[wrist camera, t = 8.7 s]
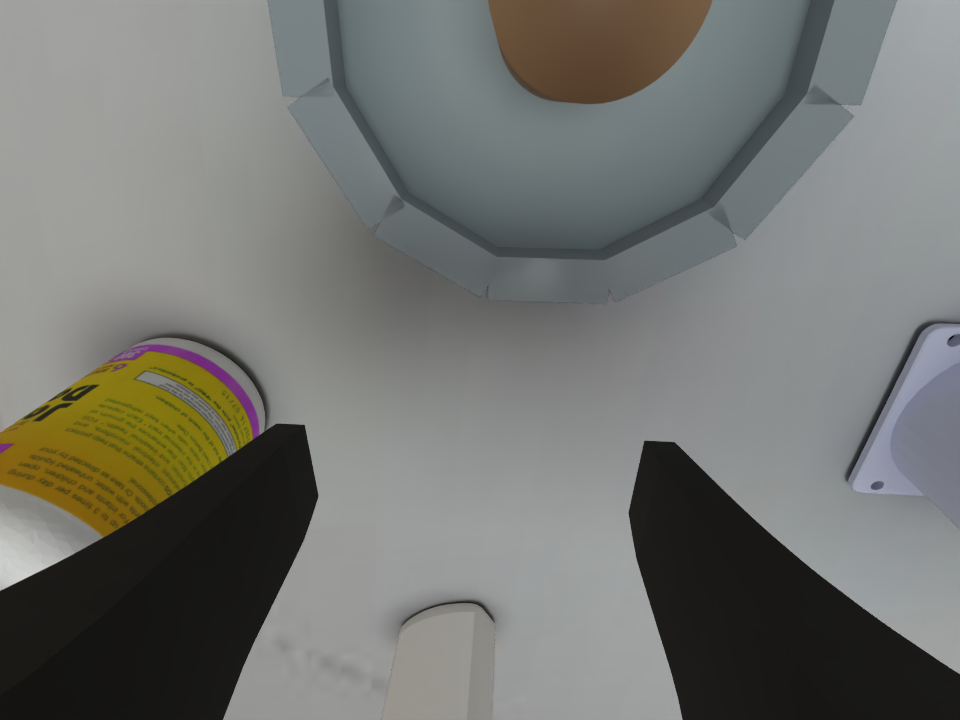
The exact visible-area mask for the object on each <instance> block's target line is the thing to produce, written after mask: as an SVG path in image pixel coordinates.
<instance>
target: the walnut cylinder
mask: <svg viewBox="0 0 960 720" xmlns="http://www.w3.org/2000/svg"><path fill="white" fill-rule="evenodd" d="M712 1H713V0H488V3H489V10H490V14H491V18H492V21H493V25H494V29H495V33H496V37H497V41H498V44H499V48H500V52H501V55H502V57H503V60H504V63H505V64H506V66H507V68H508V70H509V72H510V73H511V74H512V76H513V77H514V79H515V80H516V81H517V82H518V83H519V84H520V85H521V86H522V87H523V88H525V89H526V90H527V91H528V92H530V93H532V94H533V95H535V96H537V97H540V98H542V99H545V100H549V101H556V102H567V103H579V104H602V103H607V102H612V101H617V100H619V99H622V98H625V97H628V96H631V95H633V94H634V93H636V92H638V91H640V90H642V89H644V88H646V87H647V86H649V85H650V84H652V83H653V82H655V81H656V80H657V79H659V78H660V77H661V76H662V75H663V74H665V73H666V72H667V71H668V70H669V69H670V68H671V67H672V66H673V65H674V64H675V63H676V62H677V61H678V60H679V59H680V58H681V56H682V55H683V54H684V52H685V51H686V50H687V48H688V47H689V46H690V44H691V43H692V41H693V40H694V38H695V37H696V35H697V33H698V32H699V30H700V28H701V26H702V24H703V22H704V20H705V18H706V16H707V14H708V12H709V9H710V7H711V4H712Z"/></svg>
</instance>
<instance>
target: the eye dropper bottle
mask: <svg viewBox="0 0 960 720" xmlns="http://www.w3.org/2000/svg"><path fill="white" fill-rule="evenodd" d="M494 661H495V625H494V622H493V621H492V619H491V618H490V617H489V616H488V614H487V613H486V612H485V611H484V610H483V609H482V607H480V606H479V605H477V604H473V603H456V604H447V605H441V606H437V607H434V608H431V609H428V610H425V611H423V612H421V613H419V614H417V615H415V616H414V617H412V618H411V619H409V620H408V621H407V622H406V623H405V624H404V625H403V626H402V628H401V630H400V632H399V636H398V641H397V645H396V650H395V655H394V659H393V664H392V669H391V674H390V678H389V683H388V688H387V693H386V697H385V702H384V707H383V712H382V717H381V720H492V718H493V691H494Z"/></svg>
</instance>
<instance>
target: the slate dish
mask: <svg viewBox="0 0 960 720" xmlns="http://www.w3.org/2000/svg"><path fill="white" fill-rule="evenodd" d="M896 2H897V0H713V1H712V4H711V7H710V9H709V12H708V14H707V16H706V18H705V20H704V22H703V24H702V26H701V28H700V30H699V32H698V33H697V35H696V37H695V38H694V40H693V41H692V43H691V44H690V46H689V47H688V48H687V50H686V51H685V52H684V54H683V55H682V56H681V58H680V59H679V60H678V61H677V62H676V63H675V64H674V65H673V66H672V67H671V68H670V69H669V70H668V71H667V72H666V73H665V74H663V75H662V76H661V77H660V78H659V79H657V80H656V81H655V82H653V83H652V84H650V85H649V86H647V87H646V88H644V89H642V90H640V91H638V92H636V93H634V94H633V95H631V96H628V97H625V98H622V99H619V100H617V101H612V102H607V103H602V104H579V103H567V102H556V101H549V100H545V99H542V98H540V97H537V96H535V95H533V94H532V93H530V92H528V91H527V90H526V89H525V88H523V87H522V86H521V85H520V84H519V83H518V82H517V81H516V80H515V79H514V77H513V76H512V74H511V73H510V72H509V70H508V68H507V66H506V64H505V63H504V60H503V57H502V55H501V52H500V48H499V44H498V41H497V37H496V33H495V29H494V25H493V21H492V18H491V14H490V10H489V3H488V0H268V7H269V13H270V19H271V25H272V32H273V38H274V44H275V51H276V57H277V63H278V69H279V76H280V82H281V88H282V95H283V96H300V98H298V99H297V100H296V101H294V102H293V103H291V104H290V105H289V106H287V108H288V109H289V111H290V112H291V114H292V115H293V117H294V119H295V120H296V122H297V123H298V125H299V126H300V128H301V129H302V131H303V132H304V134H305V135H306V137H307V138H308V140H309V141H310V143H311V145H312V146H313V148H314V149H315V151H316V152H317V154H318V155H319V157H320V158H321V160H322V161H323V163H324V164H325V166H326V167H327V169H328V171H329V172H330V174H331V175H332V177H333V178H334V180H335V181H336V183H337V184H338V186H339V187H340V189H341V190H342V192H343V194H344V195H345V197H346V198H347V200H348V201H349V203H350V204H351V206H352V207H353V209H354V210H355V212H356V213H357V215H358V216H359V218H360V220H361V221H362V223H363V224H364V226H365V227H366V229H369V228H371V227H372V226H374V225H376V224H377V223H379V222H380V224H379V226H378V228H377V230H376V232H375V234H374V236H375V237H376V238H378V239H380V240H382V241H383V242H385V243H387V244H389V245H390V246H392V247H394V248H395V249H397V250H399V251H401V252H402V253H404V254H406V255H407V256H409V257H411V258H413V259H414V260H416V261H418V262H419V263H421V264H423V265H425V266H426V267H428V268H430V269H431V270H433V271H435V272H437V273H438V274H440V275H442V276H443V277H445V278H447V279H449V280H450V281H452V282H454V283H456V284H457V285H459V286H461V287H462V288H464V289H466V290H468V291H469V292H471V293H473V294H474V295H476V296H478V297H481V295H482V294H483V292H484V291H485V289H486V288H487V286H488V300H503V301H532V302H561V303H590V304H607V299H608V293H609V291H610V293H611V295H612V297H613V299H614V301H615V302H617V301H619V300H621V299H624V298H626V297H628V296H630V295H632V294H634V293H637V292H639V291H641V290H643V289H645V288H647V287H650V286H652V285H654V284H656V283H658V282H660V281H663V280H665V279H667V278H669V277H671V276H673V275H676V274H678V273H680V272H682V271H684V270H686V269H689V268H691V267H693V266H695V265H697V264H699V263H702V262H704V261H706V260H708V259H710V258H712V257H715V256H717V255H719V254H721V253H723V252H725V251H728V250H730V249H732V248H734V247H736V246H737V245H736V242H735V239H734V236H733V233H734V234H736V235H737V236H739V237H741V238H742V239H744V240H746V238H747V237H748V236H749V235H750V234H751V233H752V232H753V230H754V229H755V228H756V227H757V226H758V225H759V224H760V223H761V221H762V220H763V219H764V218H765V217H766V216H767V215H768V213H769V212H770V211H771V210H772V209H773V208H774V207H775V206H776V204H777V203H778V202H779V201H780V200H781V199H782V198H783V196H784V195H785V194H786V193H787V192H788V191H789V190H790V189H791V187H792V186H793V185H794V184H795V183H796V182H797V181H798V179H799V178H800V177H801V176H802V175H803V174H804V173H805V172H806V170H807V169H808V168H809V167H810V166H811V165H812V164H813V162H814V161H815V160H816V159H817V158H818V157H819V156H820V155H821V153H822V152H823V151H824V150H825V149H826V148H827V147H828V146H829V144H830V143H831V142H832V141H833V140H834V139H835V138H836V136H837V135H838V134H839V133H840V132H841V131H842V130H843V129H844V127H845V126H846V125H847V124H848V123H849V122H850V121H851V119H852V118H853V117H854V116H853V115H852V114H851V113H850V112H849V111H847V110H846V109H845V108H844V107H842V106H841V105H861V103H862V100H863V98H864V95H865V92H866V89H867V86H868V83H869V80H870V77H871V74H872V71H873V68H874V66H875V63H876V60H877V57H878V54H879V51H880V48H881V45H882V42H883V39H884V37H885V34H886V31H887V28H888V25H889V22H890V19H891V16H892V13H893V10H894V7H895V5H896ZM732 232H733V233H732Z"/></svg>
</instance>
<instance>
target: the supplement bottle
mask: <svg viewBox="0 0 960 720" xmlns="http://www.w3.org/2000/svg"><path fill="white" fill-rule="evenodd" d="M264 427H265V411H264V406H263V402H262V399H261V397H260V395H259V392H258V391H257V389H256V387H255V386H254V384H253V382H252V381H251V380H250V378H249V377H248V376H247V375H246V374H245V372H244V371H243V370H242V369H241V368H240V367H239V366H238V365H236V364H235V363H234V362H232V361H231V360H230V359H229V358H227V357H226V356H224V355H222V354H221V353H219V352H217V351H215V350H213V349H211V348H209V347H207V346H205V345H202V344H199V343H197V342H193V341H190V340H184V339H178V338H157V339H151V340H147V341H144V342H141V343H138V344H136V345H134V346H132V347H130V348H128V349H127V350H125V351H124V352H122V353H120V354H119V355H117V356H116V357H114V358H113V359H111V360H110V361H108V362H106V363H105V364H103V365H102V366H100V367H99V368H97V369H96V370H94V371H93V372H91V373H90V374H88V375H87V376H85V377H84V378H82V379H81V380H79V381H78V382H76V383H75V384H73V385H72V386H70V387H69V388H67V389H66V390H64V391H63V392H61V393H59V394H58V395H56V396H55V397H54V398H52V399H51V400H49V401H48V402H46V403H45V404H43V405H41V406H40V407H38V408H37V409H35V410H34V411H32V412H31V413H29V414H28V415H26V416H25V417H23V418H22V419H20V420H19V421H17V422H16V423H15V424H13V425H11V426H10V427H8V428H7V429H5V430H4V431H2V432H1V433H0V591H1V590H3V589H5V588H7V587H9V586H11V585H13V584H15V583H17V582H19V581H21V580H23V579H25V578H27V577H29V576H31V575H33V574H35V573H37V572H39V571H41V570H43V569H45V568H47V567H49V566H52V565H54V564H56V563H57V562H59V561H61V560H63V559H65V558H67V557H69V556H71V555H73V554H74V553H76V552H78V551H80V550H82V549H83V548H85V547H87V546H89V545H91V544H92V543H94V542H96V541H98V540H100V539H102V538H103V537H105V536H107V535H109V534H110V533H112V532H114V531H115V530H117V529H119V528H121V527H122V526H124V525H126V524H127V523H129V522H131V521H132V520H134V519H136V518H137V517H139V516H140V515H142V514H143V513H145V512H147V511H148V510H150V509H151V508H153V507H154V506H156V505H157V504H159V503H161V502H162V501H164V500H165V499H167V498H168V497H170V496H171V495H173V494H175V493H176V492H178V491H179V490H181V489H182V488H184V487H185V486H187V485H188V484H190V483H191V482H193V481H194V480H196V479H197V478H199V477H200V476H202V475H203V474H204V473H206V472H207V471H209V470H210V469H212V468H213V467H214V466H216V465H217V464H219V463H220V462H222V461H223V460H225V459H226V458H227V457H229V456H230V455H232V454H233V453H234V452H236V451H237V450H239V449H240V448H242V447H243V446H244V445H246V444H247V443H249V442H250V441H252V440H253V439H254V438H256V437H257V436H259V435H260V434H262V433H263V432H264Z"/></svg>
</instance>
